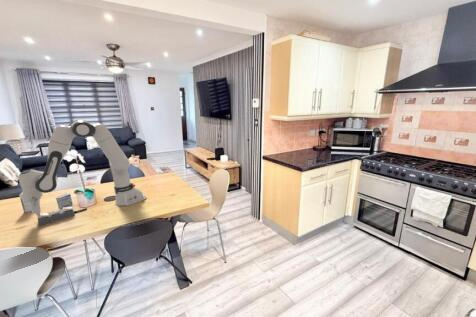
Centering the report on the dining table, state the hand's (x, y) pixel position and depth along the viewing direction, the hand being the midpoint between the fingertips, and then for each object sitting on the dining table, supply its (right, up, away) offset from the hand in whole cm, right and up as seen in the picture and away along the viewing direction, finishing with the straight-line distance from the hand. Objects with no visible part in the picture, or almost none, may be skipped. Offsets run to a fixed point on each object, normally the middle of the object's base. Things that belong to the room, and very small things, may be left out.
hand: (38, 214), depth 146 cm
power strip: (+8, -4, +11) cm, 14 cm away
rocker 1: (+1, -2, +2) cm, 3 cm away
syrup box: (-23, -2, +20) cm, 31 cm away
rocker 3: (+11, +1, +10) cm, 15 cm away
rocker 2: (+6, 0, +6) cm, 9 cm away
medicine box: (-2, 0, +26) cm, 26 cm away
